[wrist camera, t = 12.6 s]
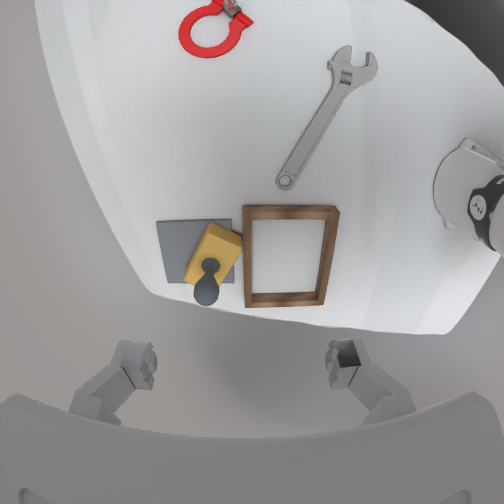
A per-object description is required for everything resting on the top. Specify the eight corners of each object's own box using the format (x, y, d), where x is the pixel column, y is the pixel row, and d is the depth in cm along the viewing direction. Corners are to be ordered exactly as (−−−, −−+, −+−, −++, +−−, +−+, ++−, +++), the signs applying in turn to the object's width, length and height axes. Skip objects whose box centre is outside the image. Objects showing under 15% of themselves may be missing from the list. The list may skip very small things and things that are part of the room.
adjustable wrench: (287, 191, 41) (289, 195, 39) (251, 169, 39) (251, 172, 37) (378, 65, 30) (384, 64, 28) (344, 37, 28) (349, 35, 26)
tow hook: (210, 69, 31) (259, 26, 27) (188, 60, 20) (260, -3, 16) (168, 37, 28) (215, -6, 24) (130, 18, 17) (197, -42, 13)
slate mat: (231, 218, 42) (231, 220, 42) (234, 281, 49) (234, 283, 48) (157, 221, 42) (156, 222, 42) (168, 281, 48) (167, 283, 48)
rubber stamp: (210, 221, 42) (198, 265, 32) (243, 236, 43) (243, 284, 33) (186, 267, 46) (172, 317, 36) (216, 280, 48) (210, 332, 38)
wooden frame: (335, 206, 41) (339, 212, 39) (320, 296, 51) (323, 305, 49) (242, 205, 41) (242, 212, 39) (244, 298, 51) (244, 307, 49)
